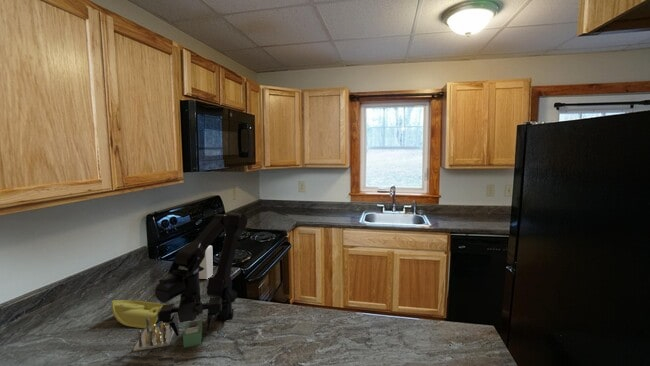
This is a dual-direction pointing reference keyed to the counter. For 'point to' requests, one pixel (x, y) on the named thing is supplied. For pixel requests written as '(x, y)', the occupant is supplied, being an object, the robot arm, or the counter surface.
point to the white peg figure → (207, 264)
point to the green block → (192, 333)
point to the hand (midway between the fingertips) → (193, 333)
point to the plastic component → (135, 312)
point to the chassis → (154, 336)
